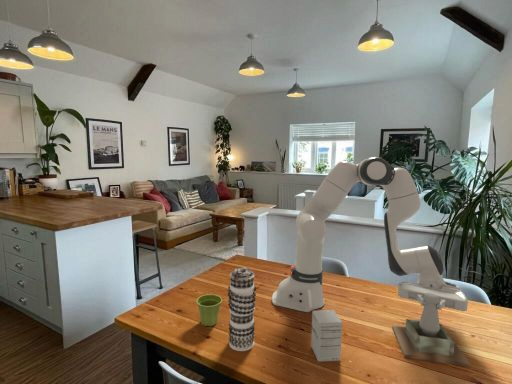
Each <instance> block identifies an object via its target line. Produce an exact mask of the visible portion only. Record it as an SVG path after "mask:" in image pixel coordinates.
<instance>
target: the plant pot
mask: <svg viewBox="0 0 512 384" xmlns="http://www.w3.org/2000/svg"><path fill="white" fill-rule="evenodd" d="M195 301H196V304H197V307H198V312H199V319H200V323H201V325H202V326H204V327H207V326H208V327H213V326H215V325H216V324H217V323H218V321H219V314H220V307H221V304H222V302H223V298H222V297H221V296H220V295H218V294H210V293H208V294H203V295H200V296H199V297H197V299H196V300H195Z"/></svg>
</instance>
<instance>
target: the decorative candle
mask: <svg viewBox="0 0 512 384" xmlns="http://www.w3.org/2000/svg"><path fill="white" fill-rule="evenodd" d="M255 275H256V274H255V272H253V271H252V270H251V269H250V268H247V267H238V268H237V267H236V268H234V270H232V271H231V272H230V273H229V277H230V282H229V283H230V284H229V286H227V292H228V293H227V296H228V300H227V301H228V307H229V308H228V310H229V313H230V317H229V322H228V326H229V328H228V331H229V333H228V336H229V337H228V342H229V343H228V345H229V347H230V349H232V350H234V351H238V352H245V351H250V349H252V348H253V347H254V345H255V334H256V333H255V329H256V328H255V325H256V323H255V318H254V312H255V311H256V310H255V307H256V299H257V298H256V296H257V295H256V294H257V293H256V292H255V291H257V287H256V286H255V282H254V280H255V279H254V278H255Z"/></svg>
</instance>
